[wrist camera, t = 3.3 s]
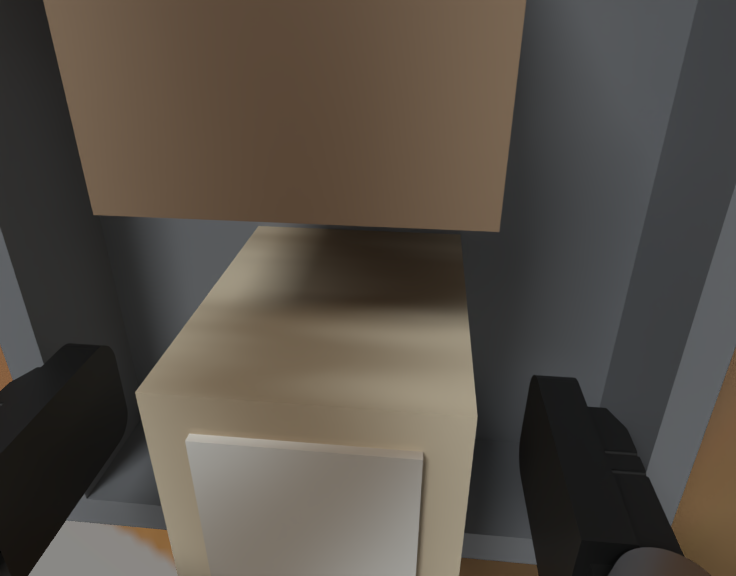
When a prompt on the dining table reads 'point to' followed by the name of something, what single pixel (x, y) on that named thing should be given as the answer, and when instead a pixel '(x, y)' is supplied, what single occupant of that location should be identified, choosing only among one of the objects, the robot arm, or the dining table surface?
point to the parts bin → (479, 248)
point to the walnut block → (293, 108)
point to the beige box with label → (319, 410)
